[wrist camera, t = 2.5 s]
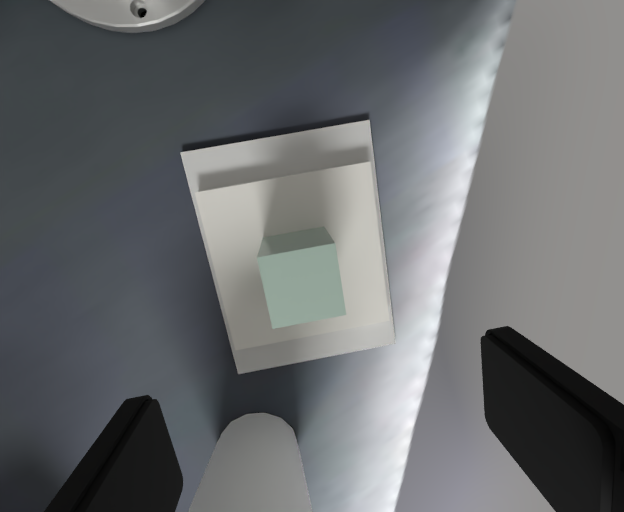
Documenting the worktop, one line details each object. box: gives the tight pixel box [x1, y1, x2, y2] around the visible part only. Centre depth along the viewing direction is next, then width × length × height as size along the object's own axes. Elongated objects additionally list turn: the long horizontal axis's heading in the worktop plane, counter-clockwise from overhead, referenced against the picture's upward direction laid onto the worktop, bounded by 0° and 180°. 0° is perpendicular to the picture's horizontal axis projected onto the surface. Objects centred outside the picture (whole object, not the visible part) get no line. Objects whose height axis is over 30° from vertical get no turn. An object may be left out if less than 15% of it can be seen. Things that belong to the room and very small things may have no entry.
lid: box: [195, 162, 389, 350], centre depth 21 cm, size 11×11×6 cm
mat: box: [181, 120, 396, 374], centre depth 24 cm, size 16×12×1 cm
